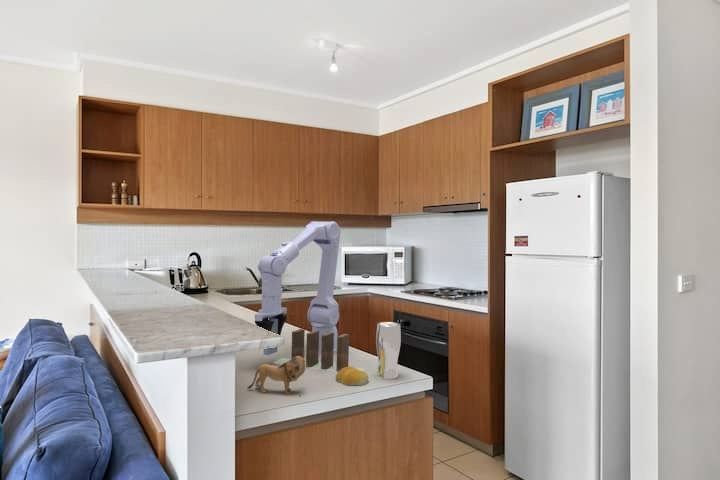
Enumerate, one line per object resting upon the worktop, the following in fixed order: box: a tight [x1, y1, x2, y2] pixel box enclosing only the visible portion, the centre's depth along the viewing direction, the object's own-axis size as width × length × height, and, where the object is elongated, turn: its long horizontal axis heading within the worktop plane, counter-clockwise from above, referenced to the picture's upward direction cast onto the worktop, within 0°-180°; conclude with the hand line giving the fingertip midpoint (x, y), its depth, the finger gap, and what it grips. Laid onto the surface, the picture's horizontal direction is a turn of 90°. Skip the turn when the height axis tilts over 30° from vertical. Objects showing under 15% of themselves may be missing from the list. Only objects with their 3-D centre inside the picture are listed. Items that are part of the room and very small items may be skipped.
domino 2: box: [290, 328, 306, 359], centre depth 151 cm, size 2×5×10 cm, turn 158°
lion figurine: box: [247, 356, 307, 395], centre depth 125 cm, size 15×5×9 cm, turn 91°
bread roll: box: [335, 366, 369, 387], centre depth 134 cm, size 8×9×4 cm
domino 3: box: [305, 330, 320, 368], centre depth 149 cm, size 2×5×10 cm, turn 158°
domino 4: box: [320, 332, 334, 370], centre depth 147 cm, size 2×5×10 cm, turn 158°
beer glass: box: [375, 321, 402, 380], centre depth 140 cm, size 7×7×15 cm
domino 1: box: [263, 318, 278, 356], centre depth 148 cm, size 2×5×10 cm, turn 158°
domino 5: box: [336, 333, 350, 371], centre depth 145 cm, size 2×5×10 cm, turn 158°
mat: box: [272, 357, 366, 374], centre depth 148 cm, size 7×28×1 cm, turn 68°
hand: (270, 341), depth 148 cm, fingers closed on domino 1, 5 cm apart
